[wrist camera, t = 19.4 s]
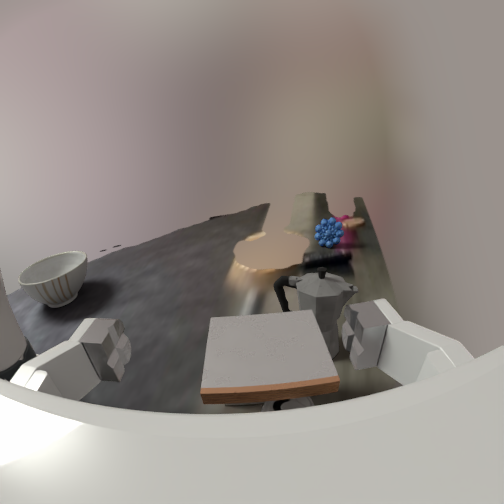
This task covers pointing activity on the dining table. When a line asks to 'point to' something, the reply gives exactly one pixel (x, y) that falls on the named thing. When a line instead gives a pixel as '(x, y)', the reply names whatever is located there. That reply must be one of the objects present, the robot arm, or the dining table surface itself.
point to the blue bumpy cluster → (329, 232)
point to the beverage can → (287, 404)
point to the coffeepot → (319, 300)
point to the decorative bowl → (55, 278)
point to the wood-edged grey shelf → (266, 359)
